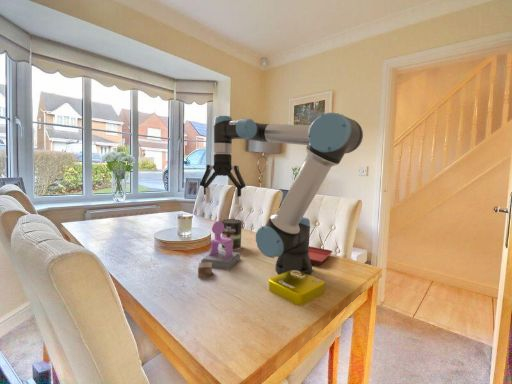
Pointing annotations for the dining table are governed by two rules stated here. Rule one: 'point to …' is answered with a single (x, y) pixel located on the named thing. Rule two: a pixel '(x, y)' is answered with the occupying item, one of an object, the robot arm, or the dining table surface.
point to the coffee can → (232, 232)
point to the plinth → (221, 260)
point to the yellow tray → (296, 287)
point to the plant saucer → (318, 255)
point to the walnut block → (205, 269)
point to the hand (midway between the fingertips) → (222, 203)
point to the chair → (220, 240)
